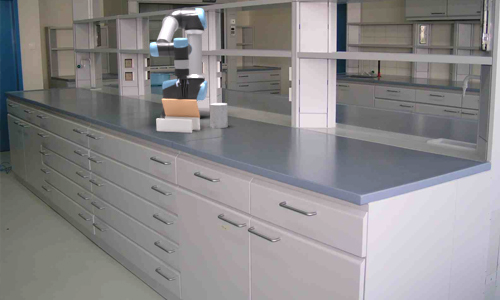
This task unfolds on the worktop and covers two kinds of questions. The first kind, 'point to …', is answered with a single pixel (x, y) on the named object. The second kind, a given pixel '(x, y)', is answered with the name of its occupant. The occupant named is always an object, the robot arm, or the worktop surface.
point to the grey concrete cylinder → (218, 115)
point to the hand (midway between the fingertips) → (183, 113)
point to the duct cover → (181, 108)
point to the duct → (178, 124)
